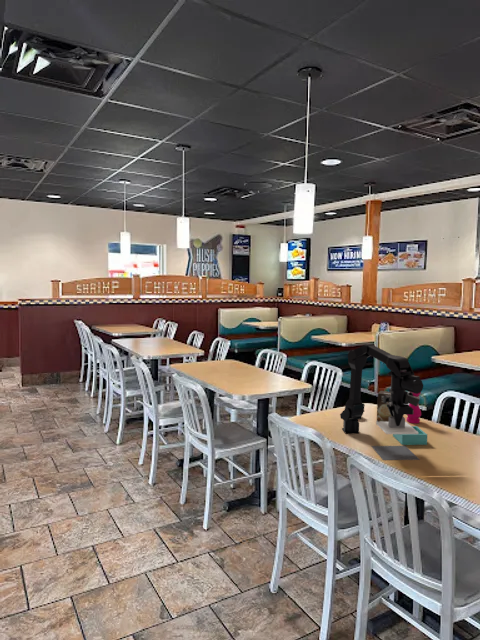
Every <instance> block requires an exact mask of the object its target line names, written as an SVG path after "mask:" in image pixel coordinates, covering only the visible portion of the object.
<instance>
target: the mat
mask: <svg viewBox="0 0 480 640" xmlns="http://www.w3.org/2000/svg"><path fill="white" fill-rule="evenodd" d="M371 448H372V449H373V450H374V451H375V452H376V454H377V455H378V456H379V458H380V459H381V460H382V461H415V460H416V461H420V460H421V459H420V458H419V457H418V456H417V455H416V454H415V453H414V452H412V450H411V449H409V447H408V446H407V445H371Z"/></svg>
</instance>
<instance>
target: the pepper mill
mask: <svg viewBox="0 0 480 640" xmlns="http://www.w3.org/2000/svg"><path fill="white" fill-rule="evenodd" d="M411 393H412V392H411ZM421 394H422V391H421V392H420V393H419V394H416V393H413V396H415V397H417V398H418V399H420V397H421V396H420V395H421ZM408 405H409V406H410V407H412V408H413V414H405V415H406V416H407V417H406V422H407V423H408V424H416V425H417V424H420V422H421V418H420V417H421V416H422V411H421V408H420V406H419V404H418V405H417V406H414V405H412V404H410V403H408Z"/></svg>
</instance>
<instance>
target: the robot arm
mask: <svg viewBox="0 0 480 640" xmlns="http://www.w3.org/2000/svg"><path fill="white" fill-rule="evenodd" d="M370 357H373V358H374V359H377V360H378V361H380V362H382V363H383V364H384V365H385V366H386V368H387V369H389V370H390V371H389V372H388V373H387V376H389V377H391V378H390V379H391V380H390V382H391V383H390V388H389V390H388V392H391V395H385V396H384V397H383V402H384V403H387V401H388V402H389V405H387V407H388V410H389V412H390V415H391V417H394V419H395V423H396V426H399V425H400V423H401V420H402V417H404V416H405V415H406V414H413V408H412V407H410V406H409V403H410V404H412V405H414V406H417V405H419V403H420V400H421V399H420V398H419V399H418V398H417V397H415V396H413V393H416V394H419V393H420V392H421V393H422V391H423V389H424V383H423V381H422V380H421V378H420V377H421V376H420V375H415V373H414V370H413V368H412V366H411V364H410V362H409V359H408V358H407V357H404V356H400V355H395V354H394V355H393V354H391V353H389V352H387V351H386V350H383V349H381V348H380V347H378V346H376V345H375V344H373V343H366V344H363V345H362V346H359V347H357V348H355V349H351V350H350V351H349V352H347V362H348V365H349V367H350V384H349V395H348V396H349V397H348V399H347V401H346V402H345V405H344V409H343V411H342V412H341V413H340V414H339V416H340V419H341V420H342V421H343V423H342V425H343V426H342V427H341V429H342V431H343V432H344V434H347V435H348V434H350V435H351V434H360V422H359V420H361V419H362V417H363V415H364V413H365V403H364V402H362V400H361V394H362V392H361V391H362V378H363V369H364V368H365V366H366V364H367V359H368V358H370ZM411 392H412V393H411Z"/></svg>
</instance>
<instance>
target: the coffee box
mask: <svg viewBox="0 0 480 640" xmlns="http://www.w3.org/2000/svg"><path fill="white" fill-rule="evenodd" d="M385 395H391V392H390V391H386V390H380V391H379V392H378V393H377V402H376V403H377V404H376V406H377V407H376V422H389V417H391V415H390V412H389V410H388V407H387V405H389V402H388V401H387V403H384V402H383V397H384V396H385ZM376 422H375V423H376Z"/></svg>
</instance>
